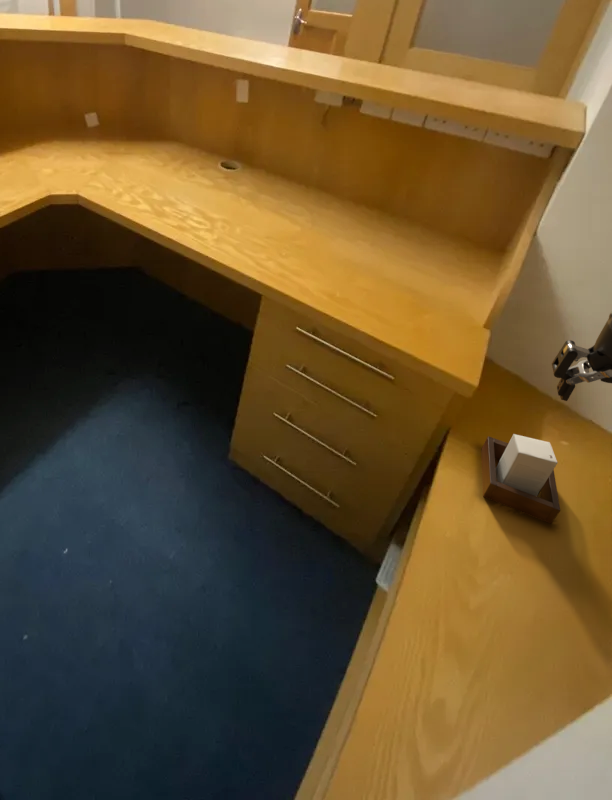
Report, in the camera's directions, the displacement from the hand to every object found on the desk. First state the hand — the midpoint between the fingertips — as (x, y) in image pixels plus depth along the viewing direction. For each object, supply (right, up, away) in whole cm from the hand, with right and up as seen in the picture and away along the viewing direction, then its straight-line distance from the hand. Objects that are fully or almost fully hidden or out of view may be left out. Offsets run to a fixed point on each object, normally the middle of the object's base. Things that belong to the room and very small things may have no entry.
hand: (595, 406), depth 79 cm
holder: (-1, -23, +17) cm, 28 cm away
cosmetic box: (-2, -22, +17) cm, 28 cm away
